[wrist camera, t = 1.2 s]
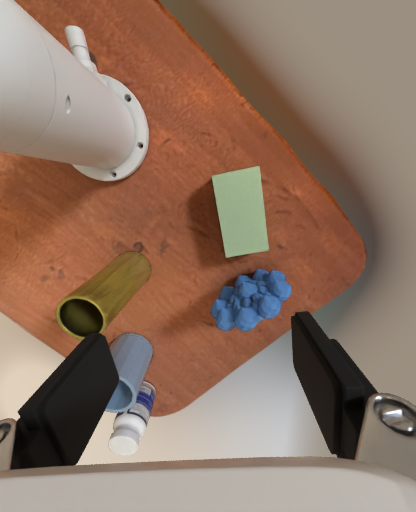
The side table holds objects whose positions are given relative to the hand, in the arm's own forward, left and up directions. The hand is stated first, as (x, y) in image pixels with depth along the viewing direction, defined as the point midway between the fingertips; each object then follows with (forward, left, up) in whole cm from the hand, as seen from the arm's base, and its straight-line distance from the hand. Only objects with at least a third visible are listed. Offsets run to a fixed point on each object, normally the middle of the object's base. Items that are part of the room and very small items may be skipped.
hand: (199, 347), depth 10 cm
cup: (+19, -19, -24) cm, 36 cm away
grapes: (+9, +4, -24) cm, 26 cm away
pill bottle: (+29, -20, -24) cm, 42 cm away
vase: (+3, -14, -24) cm, 28 cm away
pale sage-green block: (-3, +5, -24) cm, 25 cm away
